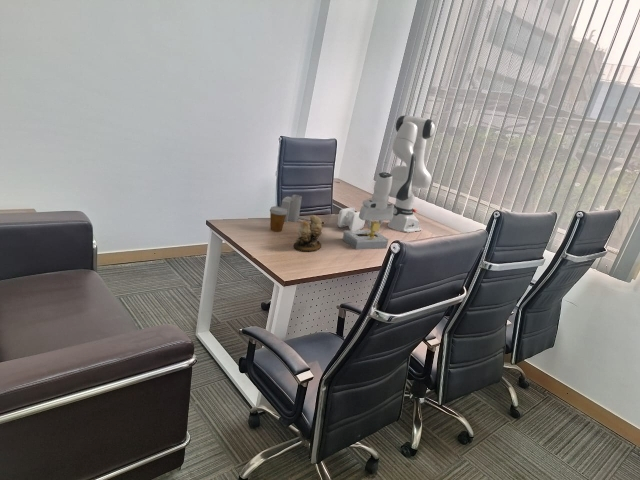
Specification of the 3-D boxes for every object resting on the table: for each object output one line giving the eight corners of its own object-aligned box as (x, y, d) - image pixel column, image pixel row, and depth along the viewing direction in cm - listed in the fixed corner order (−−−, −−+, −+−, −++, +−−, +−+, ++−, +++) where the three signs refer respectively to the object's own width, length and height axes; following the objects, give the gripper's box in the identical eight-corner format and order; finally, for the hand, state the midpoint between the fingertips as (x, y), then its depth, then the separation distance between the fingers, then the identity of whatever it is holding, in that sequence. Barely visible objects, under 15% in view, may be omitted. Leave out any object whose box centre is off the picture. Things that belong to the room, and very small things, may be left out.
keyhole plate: (372, 238, 232) (374, 230, 230) (386, 248, 220) (388, 239, 219) (342, 239, 222) (344, 230, 221) (355, 249, 211) (357, 240, 209)
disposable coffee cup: (288, 230, 222) (290, 209, 218) (279, 234, 214) (282, 212, 210) (273, 225, 226) (275, 205, 221) (264, 229, 217) (266, 208, 213)
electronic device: (283, 215, 246) (286, 191, 241) (324, 223, 244) (328, 199, 239) (278, 220, 235) (281, 195, 230) (321, 229, 232) (325, 204, 227)
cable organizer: (350, 233, 235) (354, 214, 231) (335, 227, 240) (339, 209, 236) (363, 229, 246) (367, 211, 242) (349, 223, 252) (353, 206, 248)
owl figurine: (308, 239, 214) (313, 208, 208) (326, 246, 209) (332, 215, 203) (287, 246, 199) (293, 214, 194) (307, 255, 194) (313, 221, 188)
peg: (372, 239, 225) (375, 221, 222) (376, 241, 222) (380, 224, 218) (365, 239, 223) (369, 221, 220) (369, 242, 220) (373, 224, 216)
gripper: (391, 202, 223) (385, 225, 227) (360, 201, 213) (355, 225, 218) (398, 205, 218) (392, 229, 222) (366, 204, 208) (361, 229, 213)
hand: (373, 227), depth 220 cm, fingers closed on peg, 4 cm apart
